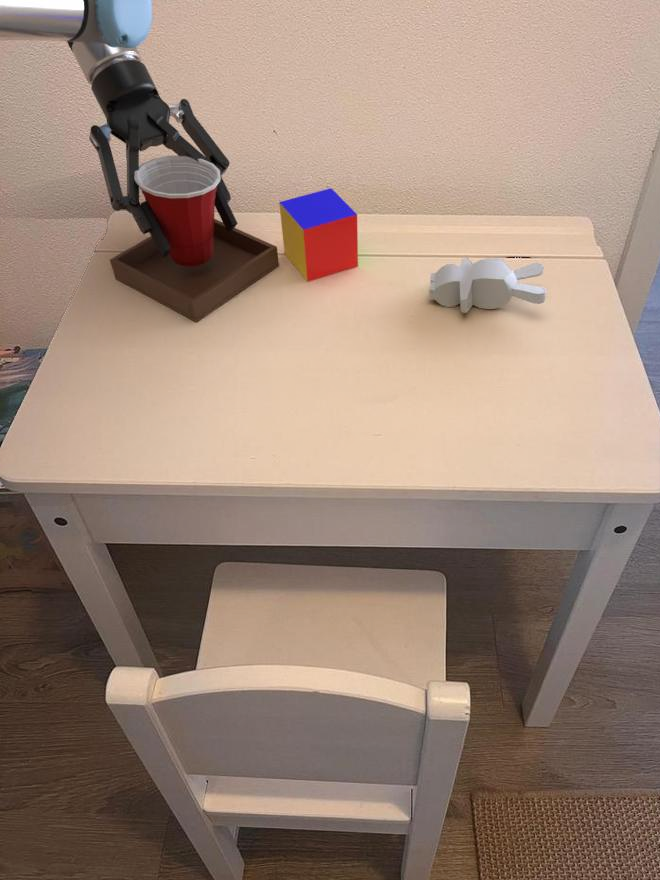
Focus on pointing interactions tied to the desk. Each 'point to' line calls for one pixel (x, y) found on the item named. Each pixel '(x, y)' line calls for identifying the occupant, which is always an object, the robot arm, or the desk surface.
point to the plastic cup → (182, 204)
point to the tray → (197, 272)
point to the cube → (319, 234)
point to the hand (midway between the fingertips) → (200, 240)
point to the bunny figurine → (484, 284)
